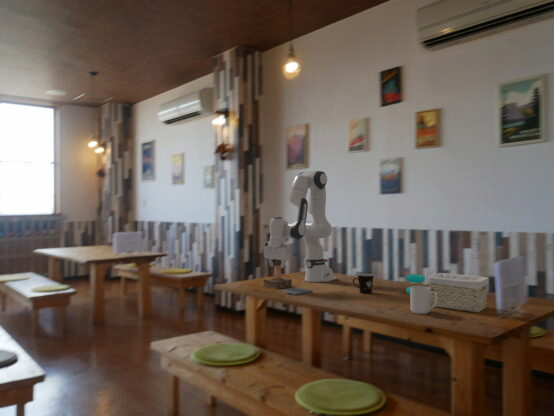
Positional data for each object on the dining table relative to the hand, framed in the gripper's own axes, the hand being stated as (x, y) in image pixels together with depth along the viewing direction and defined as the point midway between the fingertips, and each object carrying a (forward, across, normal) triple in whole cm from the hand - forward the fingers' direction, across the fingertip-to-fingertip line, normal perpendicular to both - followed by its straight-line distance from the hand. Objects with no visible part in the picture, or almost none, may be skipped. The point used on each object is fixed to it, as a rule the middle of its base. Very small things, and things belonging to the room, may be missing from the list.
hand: (276, 266), depth 271 cm
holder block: (+13, 0, -1) cm, 13 cm away
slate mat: (+13, -17, +1) cm, 21 cm away
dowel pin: (+12, 0, -1) cm, 12 cm away
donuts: (+12, -68, -42) cm, 81 cm away
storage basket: (+12, -100, -27) cm, 104 cm away
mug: (+13, -94, -6) cm, 95 cm away
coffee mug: (+12, -46, -24) cm, 53 cm away
